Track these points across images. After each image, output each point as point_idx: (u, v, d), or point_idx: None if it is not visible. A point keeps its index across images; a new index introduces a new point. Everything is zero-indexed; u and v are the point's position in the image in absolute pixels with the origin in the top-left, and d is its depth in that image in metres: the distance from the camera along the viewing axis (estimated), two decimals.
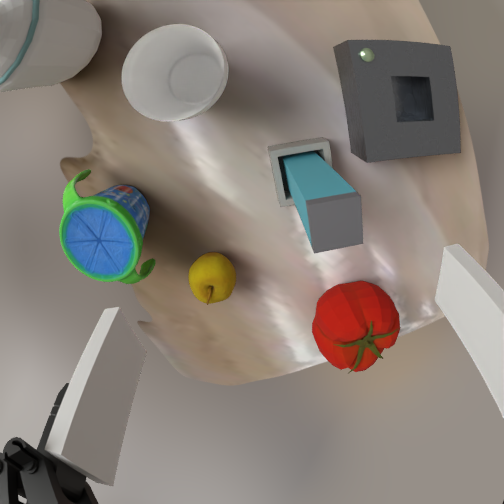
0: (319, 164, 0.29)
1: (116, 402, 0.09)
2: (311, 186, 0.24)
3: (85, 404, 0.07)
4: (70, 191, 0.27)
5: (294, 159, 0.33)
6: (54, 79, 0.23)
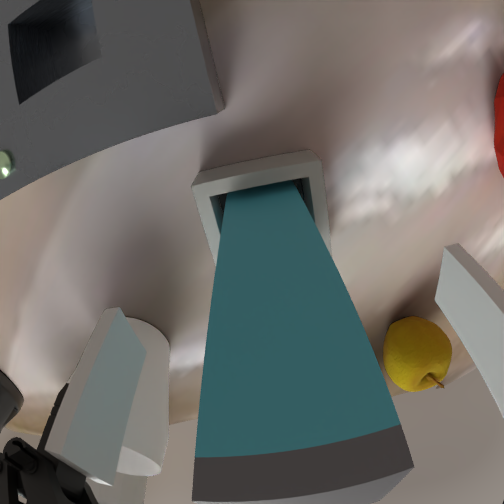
0: None
1: (116, 402, 0.09)
2: None
3: (85, 404, 0.07)
4: None
5: None
6: None
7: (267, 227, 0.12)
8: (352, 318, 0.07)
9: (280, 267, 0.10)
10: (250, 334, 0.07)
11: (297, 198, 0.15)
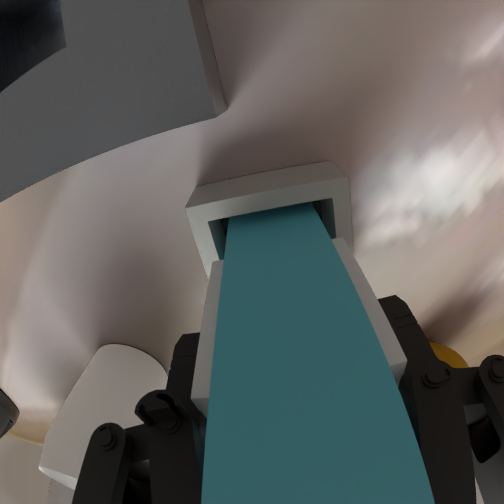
0: None
1: None
2: None
3: None
4: None
5: None
6: None
7: (283, 273, 0.09)
8: (406, 437, 0.04)
9: (304, 345, 0.07)
10: (265, 460, 0.04)
11: (318, 226, 0.12)
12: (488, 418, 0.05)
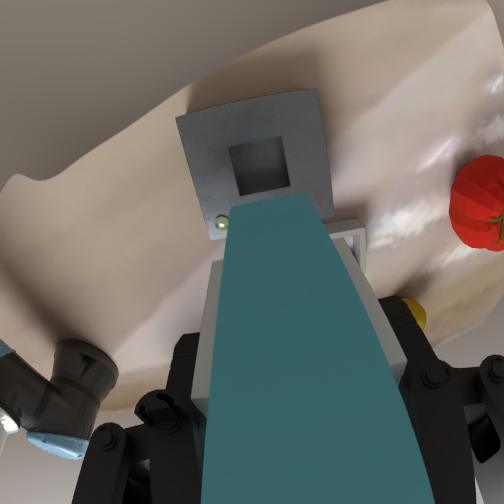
0: None
1: None
2: None
3: None
4: None
5: None
6: None
7: (283, 272, 0.09)
8: (406, 436, 0.04)
9: (304, 345, 0.07)
10: (265, 460, 0.04)
11: (318, 226, 0.12)
12: (488, 418, 0.05)
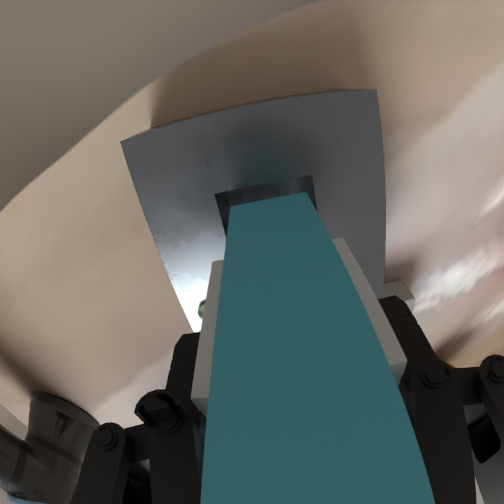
0: None
1: None
2: None
3: None
4: None
5: None
6: None
7: (283, 272, 0.09)
8: (406, 436, 0.04)
9: (304, 345, 0.07)
10: (264, 460, 0.04)
11: (318, 226, 0.12)
12: (488, 418, 0.05)
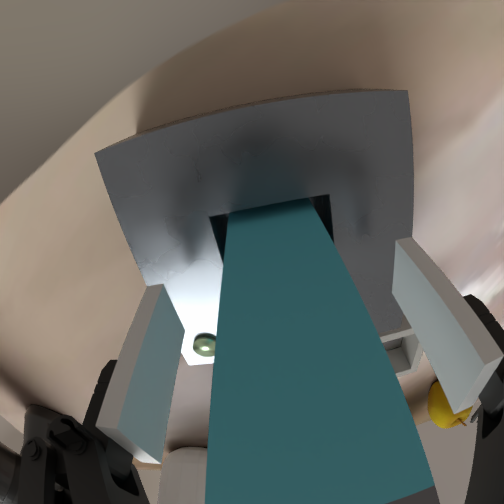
0: None
1: (163, 377, 0.10)
2: None
3: (138, 376, 0.08)
4: None
5: None
6: None
7: (277, 243, 0.11)
8: (381, 360, 0.06)
9: (295, 294, 0.08)
10: (263, 380, 0.06)
11: (309, 208, 0.13)
12: None
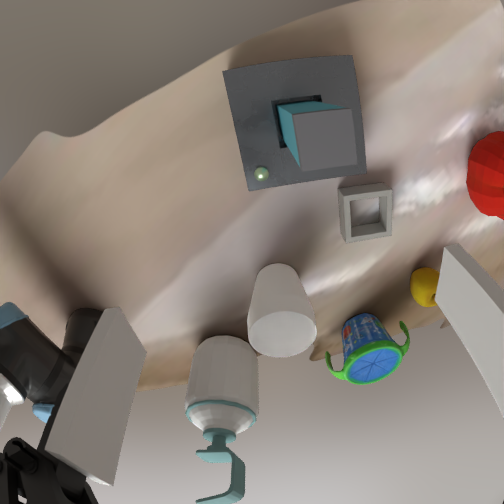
0: (281, 115, 0.27)
1: (116, 402, 0.09)
2: (293, 146, 0.22)
3: (85, 404, 0.07)
4: (335, 374, 0.46)
5: (281, 129, 0.31)
6: (257, 372, 0.49)
7: (300, 104, 0.26)
8: (333, 105, 0.21)
9: (307, 105, 0.23)
10: (301, 108, 0.21)
11: (312, 101, 0.28)
12: None
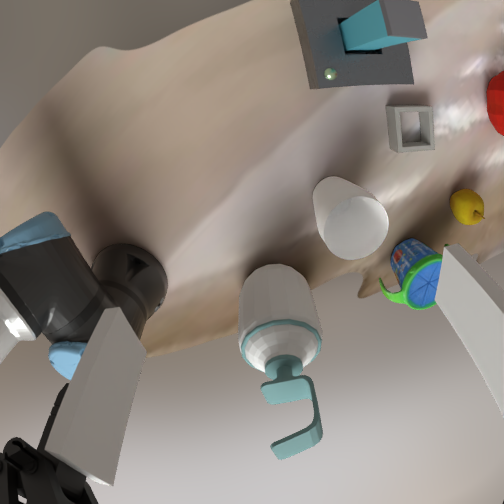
0: (349, 23, 0.25)
1: (116, 402, 0.09)
2: (373, 30, 0.21)
3: (85, 404, 0.07)
4: (394, 296, 0.44)
5: (343, 43, 0.30)
6: (313, 301, 0.47)
7: None
8: None
9: None
10: None
11: None
12: None
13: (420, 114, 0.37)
